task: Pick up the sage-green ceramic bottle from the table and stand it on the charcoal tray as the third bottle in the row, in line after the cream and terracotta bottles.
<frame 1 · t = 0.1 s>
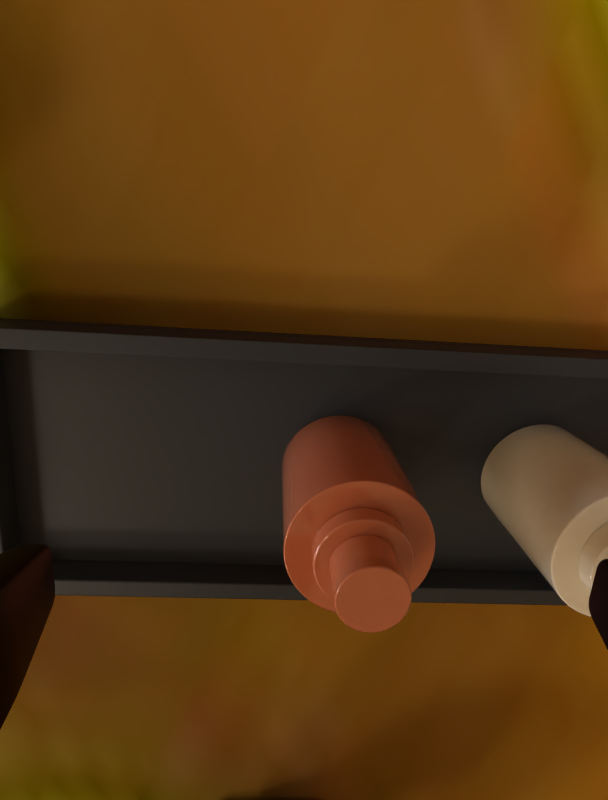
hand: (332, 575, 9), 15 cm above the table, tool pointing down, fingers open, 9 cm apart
cream bottle: (534, 475, 24), point 1 cm above the table, touching tray
tray: (336, 463, 24), on the table
terracotta bottle: (337, 468, 23), point 1 cm above the table, touching tray
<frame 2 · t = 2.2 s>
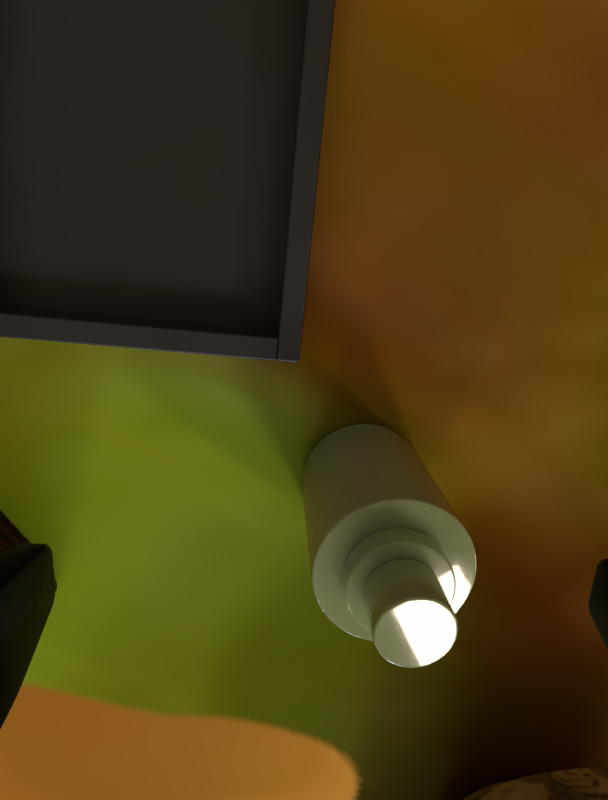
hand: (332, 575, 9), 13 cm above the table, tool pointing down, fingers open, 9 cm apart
green bottle: (361, 480, 22), on the table
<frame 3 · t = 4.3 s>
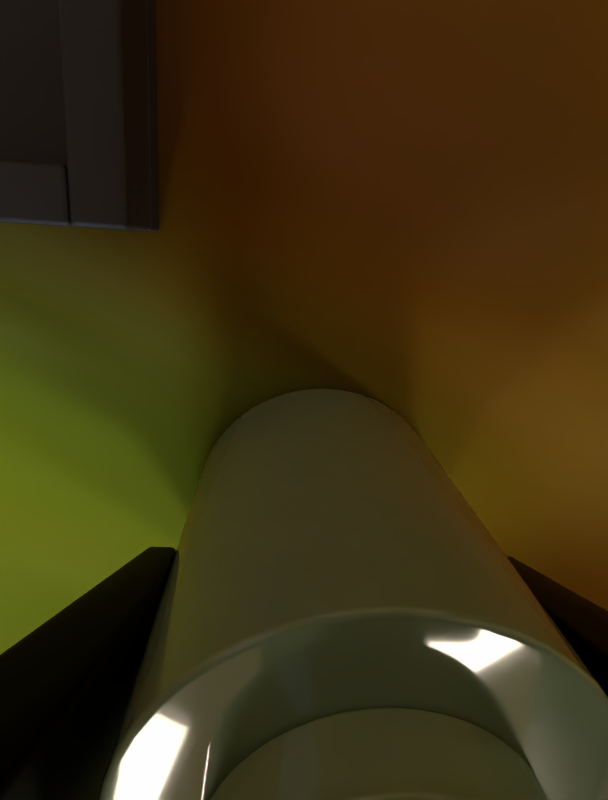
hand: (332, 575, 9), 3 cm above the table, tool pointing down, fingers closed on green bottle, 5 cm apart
green bottle: (318, 502, 11), on the table, touching gripper
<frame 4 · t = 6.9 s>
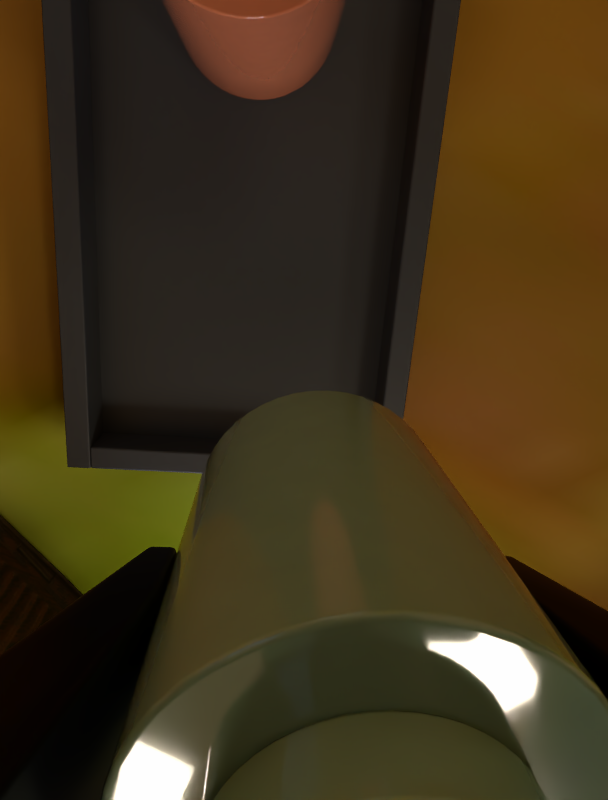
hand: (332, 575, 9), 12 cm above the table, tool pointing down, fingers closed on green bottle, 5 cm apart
dark brown piece: (27, 690, 24), on the table
tray: (257, 15, 17), on the table
terracotta bottle: (257, 7, 16), point 1 cm above the table, touching tray
green bottle: (319, 504, 11), point 10 cm above the table, touching gripper
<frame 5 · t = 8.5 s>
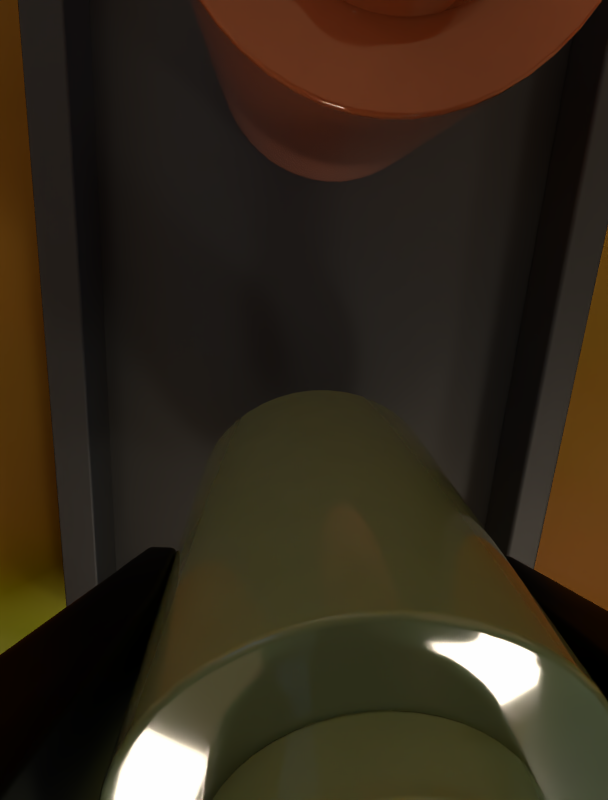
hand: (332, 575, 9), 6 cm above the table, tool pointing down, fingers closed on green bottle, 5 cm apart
tray: (332, 63, 12), on the table
terracotta bottle: (335, 53, 11), point 1 cm above the table, touching tray
green bottle: (318, 504, 11), point 3 cm above the table, touching gripper
when the fingers open (3 cm above the table, at t = 9.7 s): green bottle stays where it is, resting on tray.
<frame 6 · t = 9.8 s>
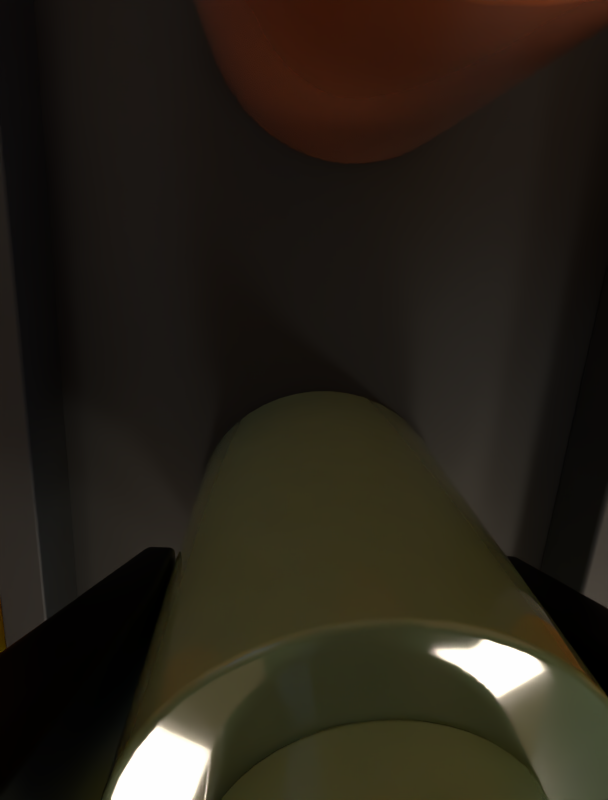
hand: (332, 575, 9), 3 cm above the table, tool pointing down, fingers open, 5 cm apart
tray: (352, 8, 9), on the table
green bottle: (320, 505, 11), point 1 cm above the table, touching tray
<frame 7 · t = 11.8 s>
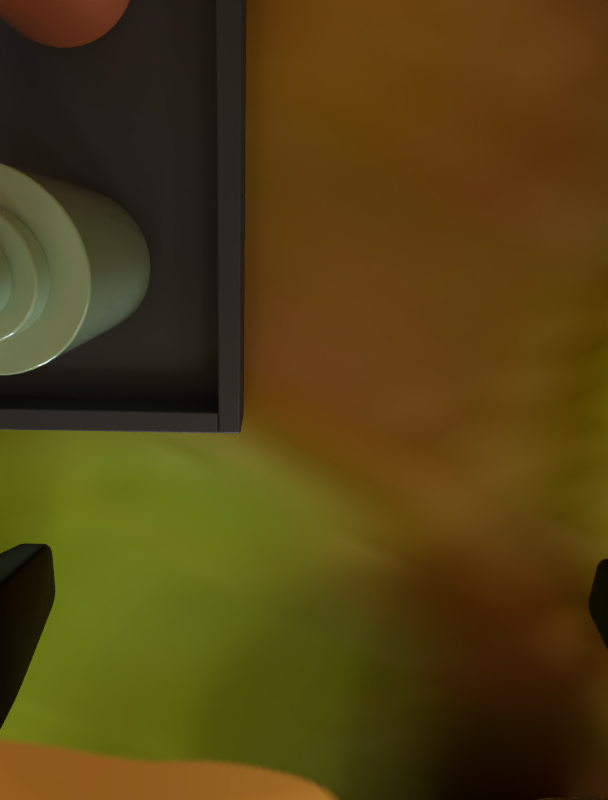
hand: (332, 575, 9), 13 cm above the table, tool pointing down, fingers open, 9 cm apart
green bottle: (78, 262, 19), point 1 cm above the table, touching tray
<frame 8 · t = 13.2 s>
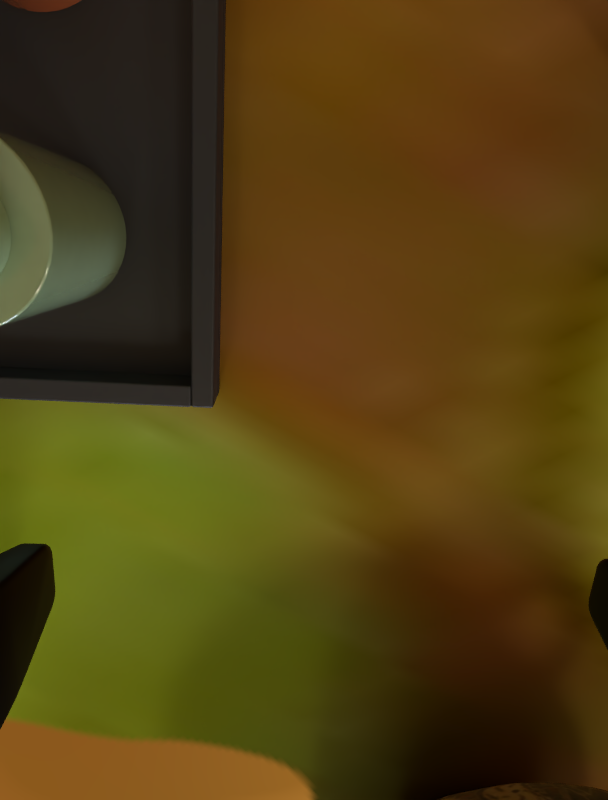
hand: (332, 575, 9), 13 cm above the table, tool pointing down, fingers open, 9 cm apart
green bottle: (54, 231, 18), point 1 cm above the table, touching tray
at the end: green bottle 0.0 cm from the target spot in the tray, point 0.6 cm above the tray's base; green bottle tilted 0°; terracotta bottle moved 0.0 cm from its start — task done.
